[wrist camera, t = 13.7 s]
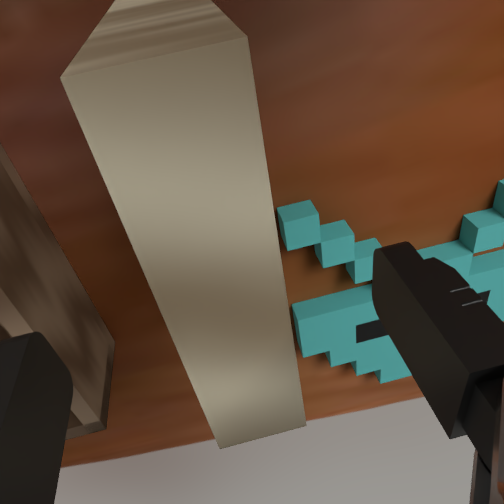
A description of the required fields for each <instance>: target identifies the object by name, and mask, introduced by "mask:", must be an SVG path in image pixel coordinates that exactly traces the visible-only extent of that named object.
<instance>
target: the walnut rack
mask: <svg viewBox="0 0 504 504" xmlns="http://www.w3.org/2000/svg"><path fill="white" fill-rule="evenodd" d="M36 331H37V332H40V333H42V334H43V335H44V337H45V338H46V339H47V341H48V342H49V343H50V345H51V346H52V347H53V349H54V350H55V352H56V353H57V354H58V356H59V357H60V358H61V360H62V361H63V362H64V364H65V365H66V366H67V368H68V369H69V371H70V374H71V377H72V381H73V398H72V404H71V410H70V415H69V421H68V427H67V432H66V438H65V440H67V439H71V438H75V437H79V436H82V435H86V434H90V433H94V432H97V431H101V430H105V429H106V427H107V417H108V407H109V397H110V387H111V377H112V368H113V358H114V348H115V341H114V339H113V338H112V336H111V334H110V332H109V331H108V329H107V327H106V325H105V324H104V322H103V320H102V318H101V317H100V315H99V313H98V311H97V310H96V308H95V306H94V305H93V303H92V301H91V299H90V298H89V296H88V294H87V292H86V291H85V289H84V287H83V285H82V284H81V282H80V280H79V279H78V277H77V275H76V273H75V272H74V270H73V268H72V266H71V265H70V263H69V261H68V259H67V258H66V256H65V254H64V253H63V251H62V249H61V247H60V246H59V244H58V242H57V240H56V239H55V237H54V235H53V233H52V232H51V230H50V228H49V227H48V225H47V223H46V221H45V220H44V218H43V216H42V214H41V213H40V211H39V209H38V207H37V206H36V204H35V202H34V200H33V199H32V197H31V195H30V194H29V192H28V190H27V188H26V187H25V185H24V183H23V181H22V180H21V178H20V176H19V174H18V173H17V171H16V169H15V168H14V166H13V164H12V162H11V161H10V159H9V157H8V155H7V154H6V152H5V150H4V148H3V147H2V145H1V143H0V341H1V340H3V339H7V338H11V337H15V336H19V335H23V334H27V333H31V332H36Z"/></svg>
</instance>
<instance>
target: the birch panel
mask: <svg viewBox="0 0 504 504" xmlns="http://www.w3.org/2000/svg"><path fill="white" fill-rule="evenodd" d="M60 79H61V82H62V84H63V86H64V89H65V91H66V93H67V96H68V98H69V100H70V103H71V105H72V107H73V110H74V112H75V114H76V117H77V119H78V121H79V124H80V126H81V128H82V130H83V133H84V135H85V137H86V140H87V142H88V144H89V147H90V149H91V151H92V154H93V156H94V158H95V161H96V163H97V165H98V168H99V170H100V172H101V175H102V177H103V179H104V182H105V184H106V186H107V188H108V191H109V193H110V195H111V198H112V200H113V202H114V205H115V207H116V209H117V212H118V214H119V216H120V219H121V221H122V223H123V226H124V228H125V230H126V233H127V235H128V237H129V239H130V242H131V244H132V246H133V249H134V251H135V253H136V256H137V258H138V260H139V263H140V265H141V267H142V270H143V272H144V274H145V277H146V279H147V281H148V284H149V286H150V288H151V291H152V293H153V295H154V297H155V300H156V302H157V304H158V307H159V309H160V311H161V314H162V316H163V318H164V321H165V323H166V325H167V328H168V330H169V332H170V335H171V337H172V339H173V342H174V344H175V346H176V349H177V351H178V353H179V355H180V358H181V360H182V362H183V365H184V367H185V369H186V372H187V374H188V376H189V379H190V381H191V383H192V386H193V388H194V390H195V393H196V395H197V397H198V400H199V402H200V404H201V407H202V409H203V411H204V413H205V416H206V418H207V420H208V423H209V425H210V427H211V430H212V432H213V434H214V437H215V439H216V441H217V444H218V446H219V448H220V449H222V448H226V447H230V446H233V445H237V444H241V443H244V442H248V441H252V440H255V439H259V438H263V437H267V436H270V435H274V434H278V433H282V432H285V431H288V430H293V429H296V428H300V427H304V426H306V419H305V413H304V406H303V400H302V393H301V386H300V380H299V373H298V367H297V360H296V353H295V347H294V340H293V334H292V327H291V320H290V314H289V307H288V301H287V294H286V288H285V281H284V274H283V268H282V261H281V255H280V248H279V241H278V235H277V228H276V222H275V215H274V208H273V202H272V195H271V189H270V182H269V176H268V169H267V162H266V156H265V149H264V143H263V136H262V129H261V123H260V116H259V110H258V103H257V97H256V90H255V83H254V77H253V70H252V64H251V57H250V50H249V44H248V37H247V36H246V35H245V34H244V33H243V32H242V31H241V30H240V29H239V28H238V27H237V26H236V25H235V24H234V23H233V22H232V21H231V20H230V19H229V18H228V17H227V16H226V15H225V14H224V13H223V12H222V11H221V10H220V9H219V8H218V7H217V6H216V5H215V4H214V3H213V2H212V1H211V0H115V1H114V3H113V4H112V5H111V7H110V8H109V10H108V11H107V12H106V14H105V15H104V17H103V18H102V19H101V21H100V22H99V24H98V25H97V26H96V28H95V29H94V31H93V32H92V33H91V35H90V36H89V38H88V39H87V40H86V42H85V43H84V45H83V46H82V47H81V49H80V50H79V52H78V53H77V54H76V56H75V57H74V59H73V60H72V61H71V63H70V64H69V66H68V67H67V68H66V70H65V71H64V73H63V74H62V75H61V77H60Z"/></svg>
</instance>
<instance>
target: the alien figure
mask: <svg viewBox="0 0 504 504" xmlns="http://www.w3.org/2000/svg"><path fill="white" fill-rule="evenodd" d="M277 213H278V220H279V226H280V233H281V237H282V239H283V241H284V244H285V246H286V248H287V251H290V250H294V249H298V248H302V247H305V246H309V245H313V244H314V247H315V254H316V256H317V258H318V259H319V261H320V263H321V265H322V267H323V268H327V267H331V266H334V265H338V264H342V263H346V269H347V271H348V273H349V275H350V276H351V278H352V280H353V281H354V283H355V284H357V283H361V282H365V281H369V280H372V273H373V253H374V250H375V249H377V248H381V247H382V246H381V245H380V244H379V242H378V241H377V240H376V238H372V239H368V240H364V241H360V242H356V243H354V233H353V232H352V230H351V229H350V227H349V226H348V224H347V223H346V221H345V220H341V221H337V222H333V223H329V224H325V225H321V226H320V223H319V213H318V212H317V210H316V209H315V207H314V205H313V204H312V202H311V200H306V201H302V202H298V203H294V204H290V205H286V206H282V207H278V208H277ZM503 242H504V180H500V181H498V186H497V190H496V195H495V199H494V203H493V208H490V209H486V210H482V211H478V212H474V213H470V214H466V215H463V220H462V226H461V231H460V237H459V240H455V241H451V242H447V243H444V244H440V245H436V246H432V247H428V248H424V249H420V250H416V251H417V252H418V253H419V254H420V255H421V257H422V258H423V259H428V258H432V257H435V258H437V259H439V260H441V261H442V262H444V263H446V264H448V265H449V266H451V267H453V268H455V269H456V270H457V271H458V273H459V274H460V275H461V276H462V277H463V278H464V279H465V280H466V281H467V282H468V284H469V285H470V288H473V289H474V290H475V291H476V292H477V294H478V295H479V296H480V297H481V298H482V301H483V302H486V304H487V305H488V306H489V307H490V308H491V309H492V310H493V311H494V312H495V314H496V315H497V316H498V317H499V318H500V319H501V320H502V321H504V249H503V250H499V251H495V252H491V253H487V254H483V255H480V256H476V257H473V253H477V252H481V251H484V250H488V249H492V248H496V247H500V246H502V245H503ZM292 310H293V317H294V323H295V329H296V336H297V342H298V344H299V347H300V350H301V353H302V356H303V358H304V357H308V356H311V355H315V354H319V353H323V352H325V354H326V356H327V358H328V361H329V363H330V366H331V367H333V366H337V365H341V364H345V363H348V362H350V363H351V365H352V367H353V369H354V371H355V373H356V375H357V376H358V375H361V374H365V373H369V372H373V371H374V372H375V374H376V376H377V378H378V380H379V382H380V384H381V383H385V382H389V381H392V380H396V379H400V378H403V377H407V376H411V375H412V374H411V372H410V371H409V369H408V367H407V366H406V364H405V362H404V360H403V359H402V357H401V355H400V354H399V352H398V350H397V349H396V347H395V345H394V343H393V342H392V340H391V338H390V337H389V335H388V333H387V331H386V330H385V328H384V326H383V325H382V323H381V321H380V320H379V318H378V316H377V314H376V311H375V308H374V305H373V300H372V284H368V285H364V286H360V287H356V288H352V289H348V290H345V291H341V292H337V293H333V294H329V295H325V296H321V297H318V298H314V299H310V300H306V301H302V302H298V303H294V304H292Z"/></svg>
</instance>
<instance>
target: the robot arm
mask: <svg viewBox="0 0 504 504" xmlns="http://www.w3.org/2000/svg"><path fill="white" fill-rule="evenodd" d="M372 300H373V305H374V308H375V311H376V314H377V316H378V318H379V320H380V321H381V323H382V325H383V326H384V328H385V330H386V331H387V333H388V335H389V337H390V338H391V340H392V342H393V343H394V345H395V347H396V349H397V350H398V352H399V354H400V355H401V357H402V359H403V360H404V362H405V364H406V366H407V367H408V369H409V371H410V372H411V374H412V376H413V378H414V379H415V381H416V383H417V384H418V386H419V388H420V389H421V391H422V393H423V395H424V396H425V398H426V400H427V401H428V403H429V405H430V406H431V408H432V410H433V411H434V413H435V415H436V417H437V418H438V420H439V422H440V424H441V425H442V427H443V429H444V430H445V432H446V434H447V435H448V437H449V439H453V438H456V437H460V436H463V435H468V437H469V439H470V440H471V442H472V443H473V445H474V447H475V448H476V449H475V453H474V461H473V472H472V483H471V492H470V503H469V504H504V322H503V321H502V320H501V319H500V318H499V317H498V316H497V315H496V314H495V312H494V311H493V310H492V309H491V308H490V307H489V306H488V305H487V304H486V302H483V301H482V298H481V297H480V296H479V295H478V294H477V292H476V291H475V290H474V289H473V288H470V285H469V284H468V282H467V281H466V280H465V279H464V278H463V277H462V276H461V275H460V274H459V273H458V271H457V270H456V269H455V268H453V267H451V266H449V265H448V264H446V263H444V262H442V261H441V260H439V259H437V258H435V257H432V258H428V259H423V258H422V257H421V255H420V254H419V253H418V252H417V251H416V249H415V248H414V247H413V246H412V245H411V244H410V243H409V242H401V243H397V244H393V245H389V246H385V247H381V248H377V249H375V250H374V253H373V273H372ZM72 398H73V381H72V377H71V374H70V371H69V369H68V368H67V366H66V365H65V364H64V362H63V361H62V360H61V358H60V357H59V356H58V354H57V353H56V352H55V350H54V349H53V347H52V346H51V345H50V343H49V342H48V341H47V339H46V338H45V337H44V335H43V334H42V333H40V332H37V331H36V332H31V333H27V334H23V335H19V336H15V337H11V338H7V339H3V340H1V341H0V504H54V500H55V495H56V489H57V483H58V478H59V472H60V466H61V461H62V455H63V449H64V444H65V438H66V432H67V427H68V421H69V415H70V410H71V404H72Z"/></svg>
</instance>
